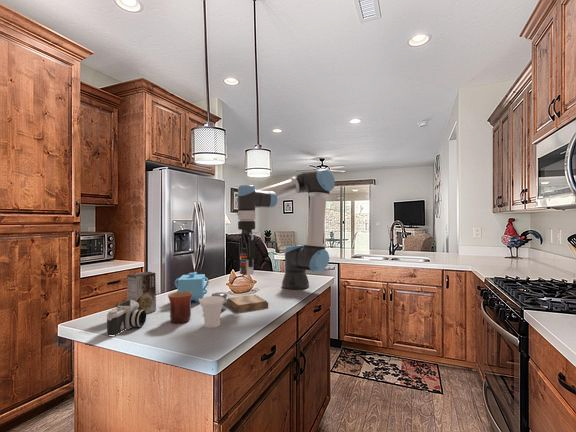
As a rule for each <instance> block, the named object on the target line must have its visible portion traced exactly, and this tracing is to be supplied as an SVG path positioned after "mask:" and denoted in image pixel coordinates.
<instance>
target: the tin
mask: <svg viewBox="0 0 576 432" xmlns="http://www.w3.org/2000/svg"><path fill="white" fill-rule="evenodd" d="M211 296H220V297H223V298H224V302H223V304H222V309H221V312H225V311H227V310H228V305H227V299H228V293H227V292H223V291H222V292H214V293H212V294H211Z"/></svg>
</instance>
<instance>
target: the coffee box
mask: <svg viewBox="0 0 576 432" xmlns="http://www.w3.org/2000/svg"><path fill="white" fill-rule="evenodd" d="M126 279H127V281H126V285H127V286H126V287H127V288H126V289H127V292H126V294H127V300H126V301H129V300H134V301H135V302H138V304H139V307H138V310H144V311H145V312H146V315H147V314H150V313H153V312H156V311H157V293H156V291H157V289H156V288H157V287H156V286H157V285H156V283H157V282H156V272H152V271H148V270H147V271H141V272H136V273H131V274H130V273H129V274H127V275H126Z"/></svg>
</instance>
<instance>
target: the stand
mask: <svg viewBox="0 0 576 432" xmlns="http://www.w3.org/2000/svg"><path fill="white" fill-rule="evenodd" d="M227 307H229V308H230V309H231V310H233V311H234V312H235V313H237V314H238V313H242V312H243V313H244V312H248V311H256V309H257V310H261V309H262V308H263V309H267V308H268V309H269V302H268V301H267V300H266V299H264V298H262V297H260V296H259V295H257V294H249V295H248V294H247V295H241V296H233V297H232V296H231V297H227Z"/></svg>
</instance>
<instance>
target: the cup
mask: <svg viewBox="0 0 576 432" xmlns="http://www.w3.org/2000/svg"><path fill="white" fill-rule="evenodd" d="M223 302H224V298H223V297H220V296H212V295H211V296H210V295H209V296H203V298H201V299H200V298H199V304H200V306H201V308H202V312H203V319H204V324H203V325H204V327H205V328H210V329H211V328H216V327H219V326H220V325H221V312H222V311H221V309H222V304H223Z"/></svg>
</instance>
